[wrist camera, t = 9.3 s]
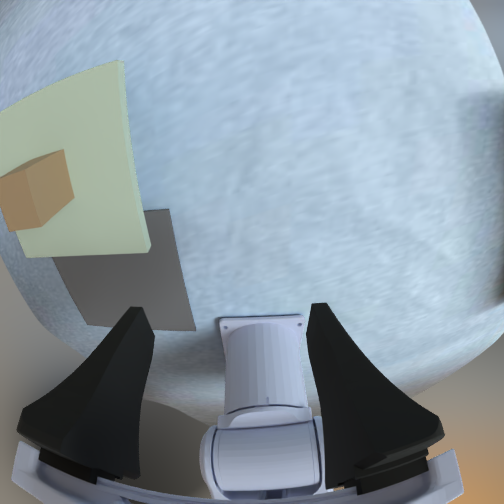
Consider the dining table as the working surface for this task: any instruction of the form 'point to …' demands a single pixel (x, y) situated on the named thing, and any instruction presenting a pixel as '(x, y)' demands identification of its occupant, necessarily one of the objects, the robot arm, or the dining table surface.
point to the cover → (72, 168)
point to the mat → (132, 281)
